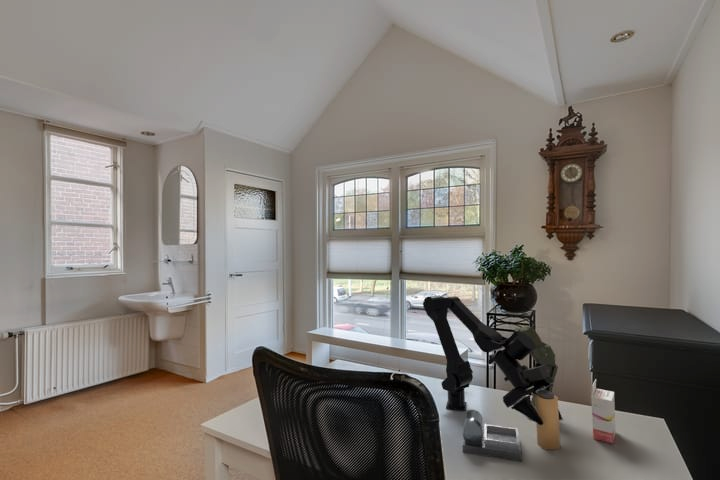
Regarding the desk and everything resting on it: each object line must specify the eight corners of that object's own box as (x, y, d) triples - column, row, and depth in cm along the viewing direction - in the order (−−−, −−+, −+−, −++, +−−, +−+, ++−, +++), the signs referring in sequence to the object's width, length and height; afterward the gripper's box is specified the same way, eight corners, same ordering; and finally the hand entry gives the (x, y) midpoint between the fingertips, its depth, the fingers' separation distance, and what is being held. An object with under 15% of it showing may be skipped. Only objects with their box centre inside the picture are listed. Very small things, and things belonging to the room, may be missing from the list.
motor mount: (465, 431, 106) (464, 407, 106) (517, 438, 101) (516, 414, 101) (462, 452, 95) (461, 426, 95) (521, 461, 90) (520, 434, 90)
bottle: (536, 437, 101) (533, 388, 102) (558, 440, 99) (555, 390, 100) (538, 448, 96) (536, 395, 96) (562, 451, 94) (559, 397, 95)
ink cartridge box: (614, 444, 97) (611, 390, 97) (592, 439, 100) (590, 386, 100) (616, 432, 103) (614, 381, 104) (596, 427, 106) (594, 377, 107)
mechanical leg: (565, 407, 118) (538, 320, 120) (575, 417, 111) (547, 324, 113) (523, 416, 119) (498, 329, 121) (531, 427, 112) (504, 334, 114)
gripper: (510, 359, 97) (554, 415, 87) (545, 348, 108) (587, 396, 98) (487, 381, 103) (525, 435, 93) (522, 368, 114) (559, 415, 104)
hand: (550, 419), depth 97 cm, fingers open, 9 cm apart
